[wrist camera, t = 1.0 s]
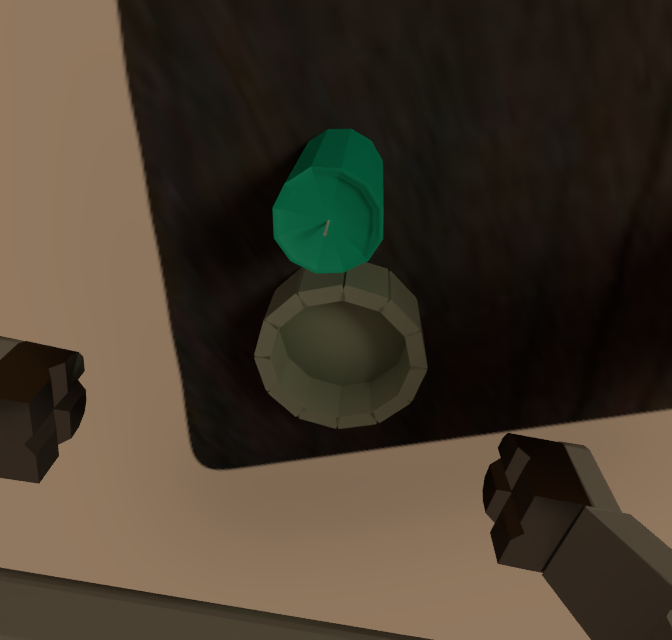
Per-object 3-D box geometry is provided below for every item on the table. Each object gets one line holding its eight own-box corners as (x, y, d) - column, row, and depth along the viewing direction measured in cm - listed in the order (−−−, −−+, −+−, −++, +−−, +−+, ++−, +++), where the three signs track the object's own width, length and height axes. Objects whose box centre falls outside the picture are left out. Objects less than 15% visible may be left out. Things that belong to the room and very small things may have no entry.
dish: (445, 286, 40) (452, 317, 36) (390, 406, 47) (391, 444, 42) (289, 238, 39) (278, 264, 35) (254, 366, 45) (241, 402, 41)
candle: (394, 140, 35) (400, 192, 25) (370, 223, 38) (367, 300, 28) (307, 117, 35) (276, 160, 25) (290, 202, 38) (256, 273, 28)
